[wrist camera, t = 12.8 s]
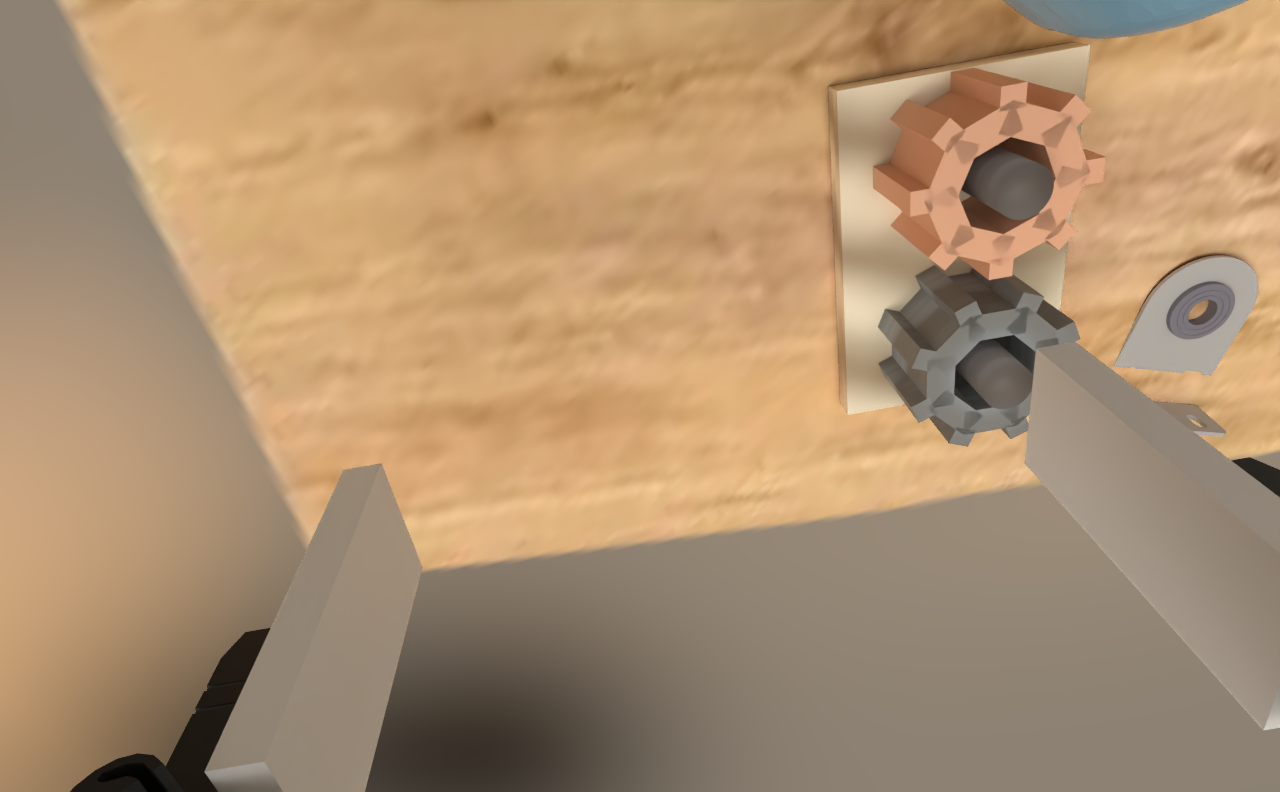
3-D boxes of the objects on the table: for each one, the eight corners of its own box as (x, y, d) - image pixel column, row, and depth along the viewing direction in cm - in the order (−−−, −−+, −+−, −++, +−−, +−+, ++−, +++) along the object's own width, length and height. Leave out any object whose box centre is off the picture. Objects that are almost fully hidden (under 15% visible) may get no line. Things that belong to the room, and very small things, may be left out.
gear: (848, 134, 38) (883, 157, 33) (1011, 34, 36) (1072, 43, 32) (912, 272, 41) (951, 309, 37) (1063, 187, 40) (1123, 214, 35)
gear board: (827, 86, 38) (884, 114, 31) (1072, 42, 38) (1185, 60, 31) (840, 401, 47) (886, 479, 40) (1038, 367, 46) (1120, 438, 40)
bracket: (1268, 256, 44) (1318, 278, 41) (1187, 407, 49) (1226, 437, 46) (1163, 245, 44) (1206, 267, 41) (1091, 400, 49) (1125, 429, 46)
